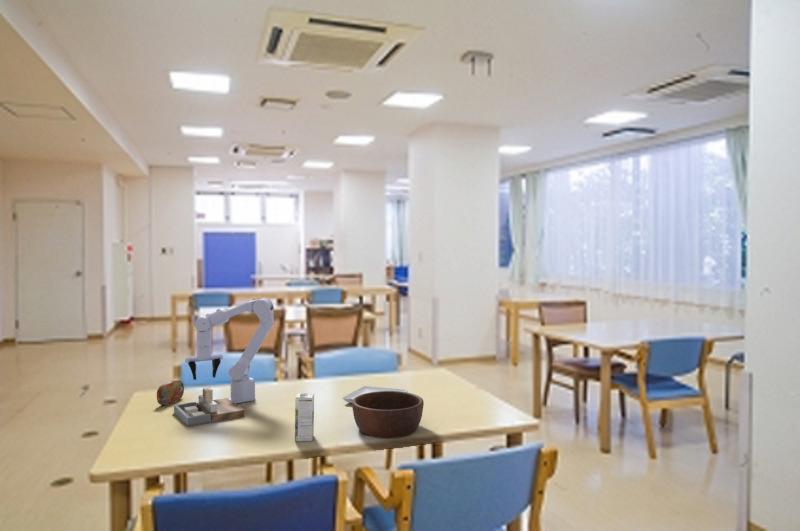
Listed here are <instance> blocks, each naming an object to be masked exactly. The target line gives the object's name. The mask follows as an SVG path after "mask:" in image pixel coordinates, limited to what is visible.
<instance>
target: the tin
mask: <svg viewBox="0 0 800 531" xmlns="http://www.w3.org/2000/svg"><path fill="white" fill-rule="evenodd" d="M184 385H185V384H184V383H183V381H181V380H180V379H177V380H175V379H174V380H171V381H169V382H166V383H164V384H161V385H160V386H159V387H158V388H157V391H156V401H157V403H158V404H159V405H160V406H169V405H168V404H170V405H172V404H174V403H176V402H178V401H180V400H181V399H182V398H183V396H184V393H185V387H184ZM179 399H180V400H179ZM177 400H178V401H177ZM175 401H176V402H175ZM173 402H174V403H173ZM171 403H172V404H171Z"/></svg>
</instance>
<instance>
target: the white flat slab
mask: <svg viewBox="0 0 800 531" xmlns="http://www.w3.org/2000/svg"><path fill="white" fill-rule="evenodd" d="M213 393H214V392H213V389H212V388H211V387H203V388H202V394H199V395H198V402H199V404H200V405H202V406H203V407H204V408H205V409H206V410H208V411H209V412H210V413H215V412H217V403H215V402H214V401H213V400H214V399H213V396H214V395H213Z"/></svg>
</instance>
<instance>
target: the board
mask: <svg viewBox="0 0 800 531" xmlns="http://www.w3.org/2000/svg"><path fill="white" fill-rule="evenodd" d="M228 398H229V397H228ZM228 398H227V397H223V398H219V399H213V401H214V402H215V403H217V412H215V413H210V412H209V411H208V410H206V409H205V408H204V407H203V406H202V405H200V404H199V401H197V402H196V407H197V408H198V411H199V412H201V411H203V412H204V413H205V414H211V423H216V422H220V421H226V420H231V419H237V418H243V417H245V409H244V408H242V407H241V406H239V405H238V404H237V403H234V402H232V401H231V400H229V399H228Z"/></svg>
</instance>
